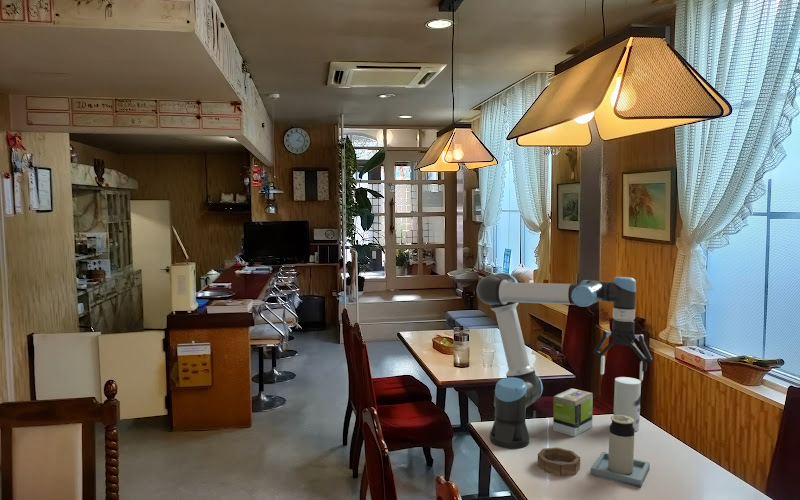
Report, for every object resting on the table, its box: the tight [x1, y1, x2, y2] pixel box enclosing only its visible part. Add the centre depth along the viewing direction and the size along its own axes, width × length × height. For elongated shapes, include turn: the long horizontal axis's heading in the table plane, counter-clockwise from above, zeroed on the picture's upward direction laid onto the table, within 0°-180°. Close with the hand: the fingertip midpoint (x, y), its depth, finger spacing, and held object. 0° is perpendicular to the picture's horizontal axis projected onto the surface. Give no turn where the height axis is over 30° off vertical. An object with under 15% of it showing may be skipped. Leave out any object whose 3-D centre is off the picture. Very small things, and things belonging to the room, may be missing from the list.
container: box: [613, 376, 642, 432], centre depth 239 cm, size 10×10×20 cm
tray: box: [590, 451, 651, 489], centre depth 199 cm, size 16×16×2 cm
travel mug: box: [608, 414, 636, 474], centre depth 198 cm, size 8×8×18 cm
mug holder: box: [536, 447, 581, 477], centre depth 202 cm, size 13×13×4 cm
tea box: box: [552, 387, 594, 437], centre depth 237 cm, size 15×10×15 cm
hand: (621, 376), depth 212 cm, fingers open, 13 cm apart
